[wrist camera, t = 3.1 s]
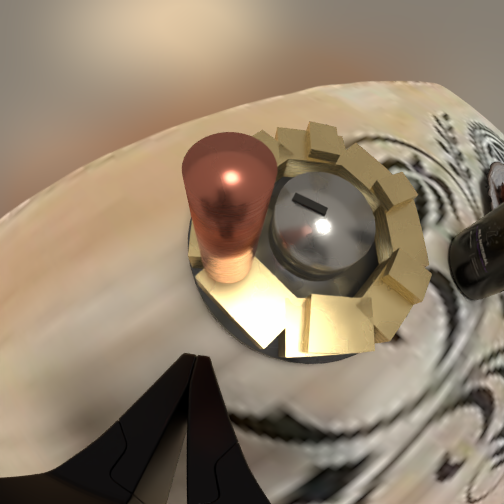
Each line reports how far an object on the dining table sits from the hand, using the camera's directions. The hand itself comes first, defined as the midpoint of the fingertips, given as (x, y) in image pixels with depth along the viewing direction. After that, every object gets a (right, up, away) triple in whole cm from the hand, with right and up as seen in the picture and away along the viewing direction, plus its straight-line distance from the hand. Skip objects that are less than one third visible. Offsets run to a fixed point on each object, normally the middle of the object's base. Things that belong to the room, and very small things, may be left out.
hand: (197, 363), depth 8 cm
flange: (+6, +4, +11) cm, 13 cm away
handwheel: (+6, +5, +9) cm, 12 cm away
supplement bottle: (+22, +2, +12) cm, 26 cm away
